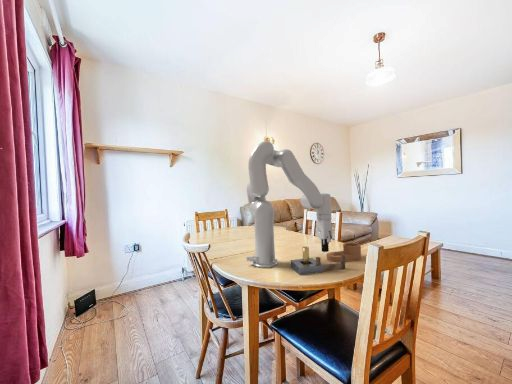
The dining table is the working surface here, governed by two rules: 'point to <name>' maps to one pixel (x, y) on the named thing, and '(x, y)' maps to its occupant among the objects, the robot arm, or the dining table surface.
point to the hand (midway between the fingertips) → (325, 251)
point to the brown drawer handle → (332, 266)
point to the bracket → (346, 253)
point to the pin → (305, 255)
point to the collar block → (306, 266)
